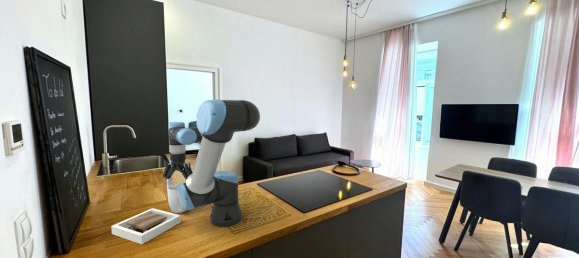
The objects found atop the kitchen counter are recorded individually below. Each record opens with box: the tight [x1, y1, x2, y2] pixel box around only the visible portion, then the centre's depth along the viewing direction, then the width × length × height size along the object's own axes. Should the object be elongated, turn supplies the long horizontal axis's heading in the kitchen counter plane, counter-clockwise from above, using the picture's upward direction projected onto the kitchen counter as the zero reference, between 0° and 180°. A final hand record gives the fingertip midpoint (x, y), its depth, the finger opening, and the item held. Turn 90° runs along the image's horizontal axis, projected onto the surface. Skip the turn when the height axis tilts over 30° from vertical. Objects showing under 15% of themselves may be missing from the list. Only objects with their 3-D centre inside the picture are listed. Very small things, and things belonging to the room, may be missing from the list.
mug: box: [166, 182, 187, 214], centre depth 121 cm, size 15×11×13 cm
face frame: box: [110, 207, 182, 245], centre depth 105 cm, size 19×19×4 cm
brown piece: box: [127, 212, 167, 233], centre depth 105 cm, size 11×11×4 cm
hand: (179, 192), depth 121 cm, fingers open, 13 cm apart
